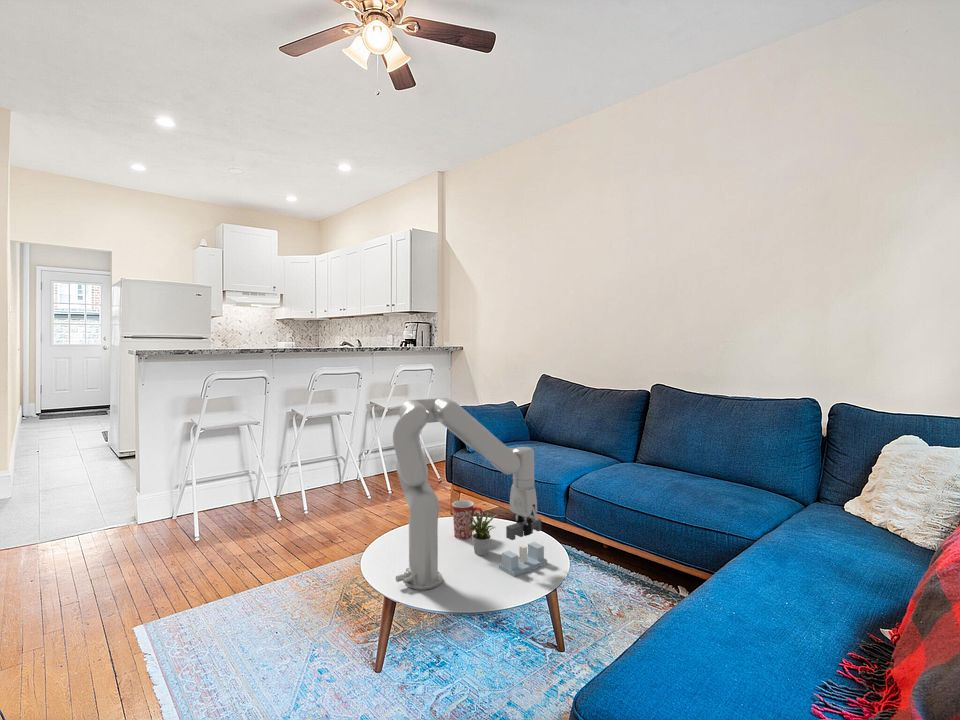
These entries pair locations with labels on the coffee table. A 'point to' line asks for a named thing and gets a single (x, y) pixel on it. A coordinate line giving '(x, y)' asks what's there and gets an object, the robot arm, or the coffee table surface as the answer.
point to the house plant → (480, 534)
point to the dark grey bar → (521, 529)
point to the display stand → (523, 559)
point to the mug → (460, 522)
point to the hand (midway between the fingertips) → (524, 532)
